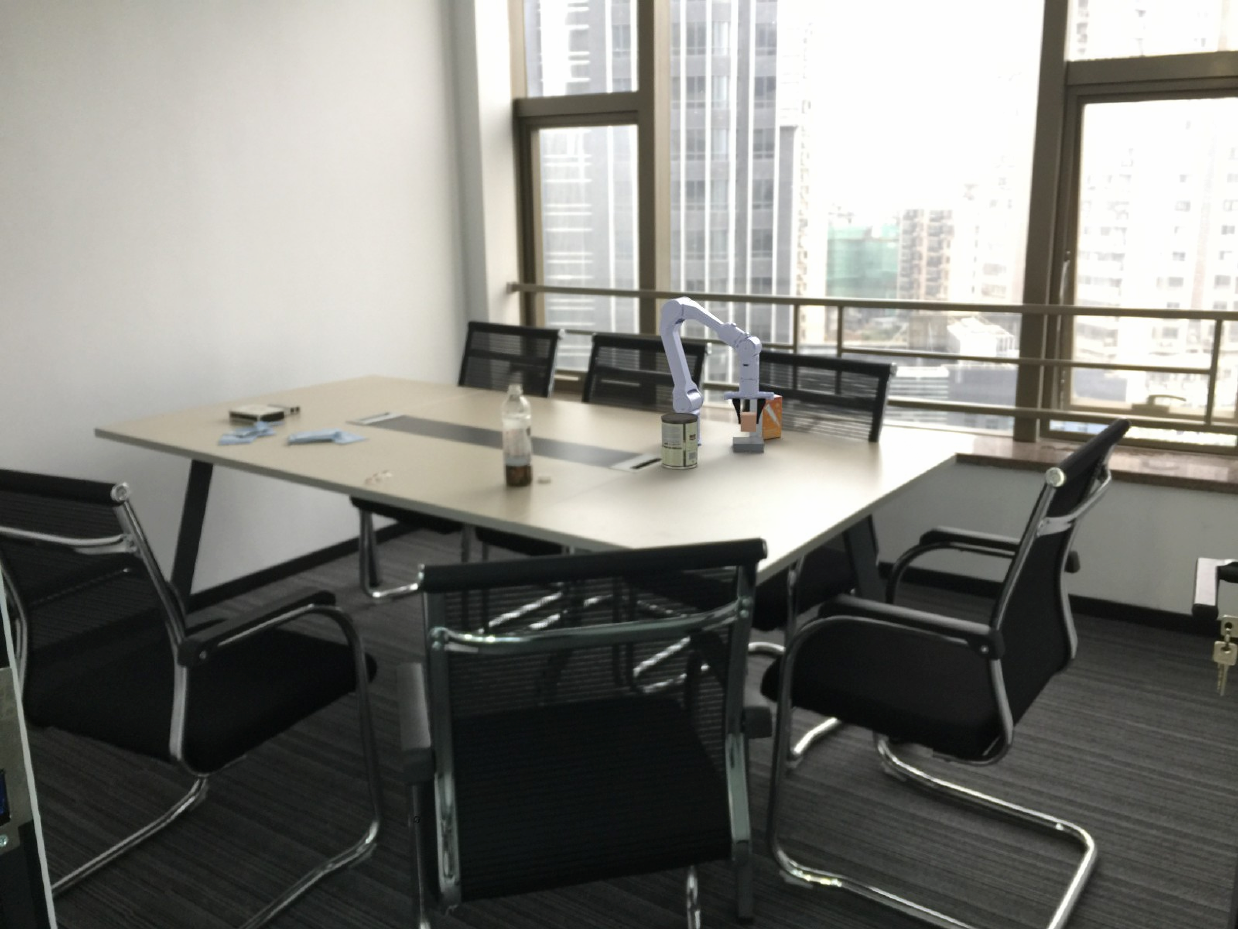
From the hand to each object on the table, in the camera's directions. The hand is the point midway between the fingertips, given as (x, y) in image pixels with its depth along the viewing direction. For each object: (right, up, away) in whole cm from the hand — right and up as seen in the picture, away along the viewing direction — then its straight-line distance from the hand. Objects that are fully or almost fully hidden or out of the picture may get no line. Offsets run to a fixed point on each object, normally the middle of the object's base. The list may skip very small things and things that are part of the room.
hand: (748, 423), depth 318 cm
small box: (+7, -4, +17) cm, 19 cm away
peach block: (0, -2, 0) cm, 2 cm away
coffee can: (-21, -13, -16) cm, 29 cm away
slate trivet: (0, -8, +2) cm, 8 cm away
